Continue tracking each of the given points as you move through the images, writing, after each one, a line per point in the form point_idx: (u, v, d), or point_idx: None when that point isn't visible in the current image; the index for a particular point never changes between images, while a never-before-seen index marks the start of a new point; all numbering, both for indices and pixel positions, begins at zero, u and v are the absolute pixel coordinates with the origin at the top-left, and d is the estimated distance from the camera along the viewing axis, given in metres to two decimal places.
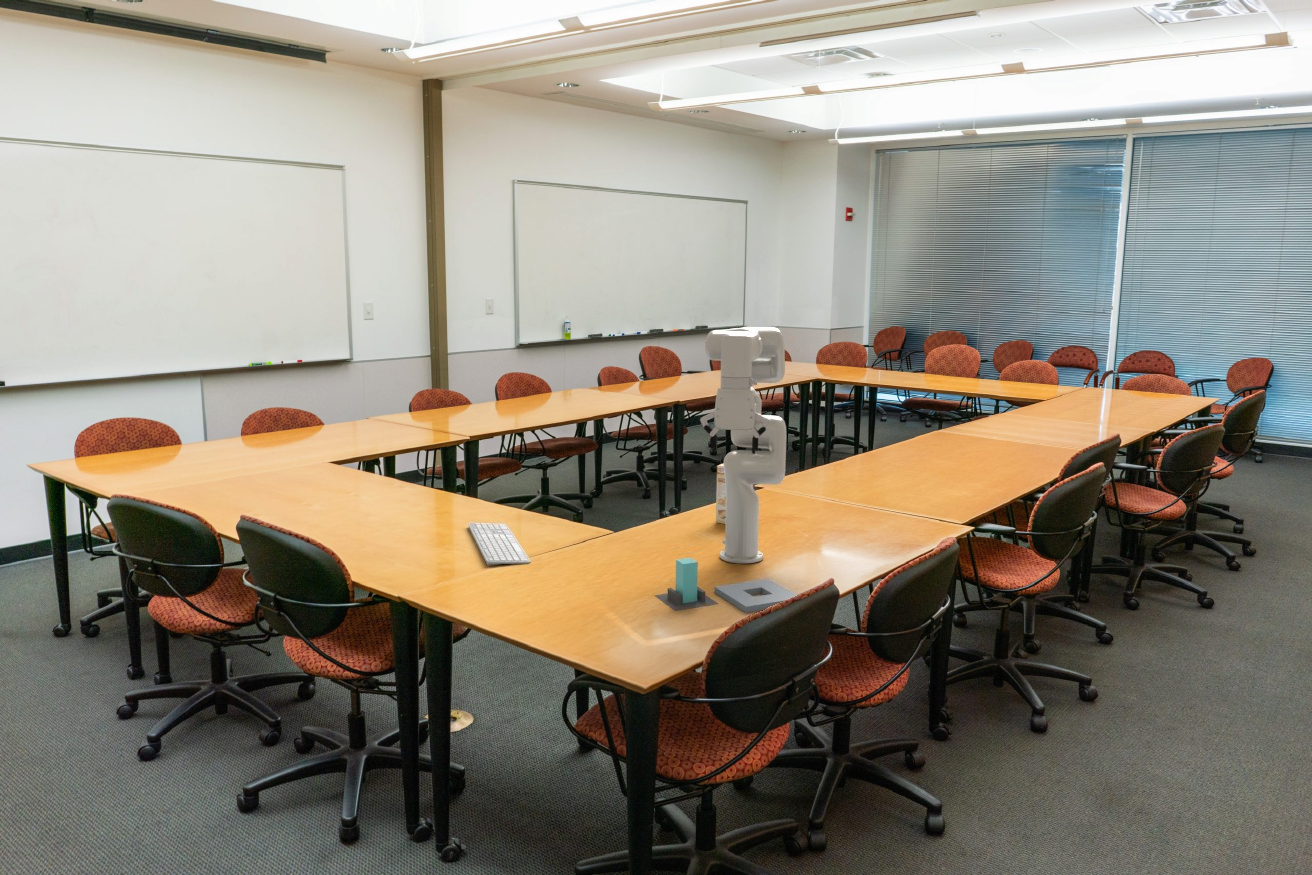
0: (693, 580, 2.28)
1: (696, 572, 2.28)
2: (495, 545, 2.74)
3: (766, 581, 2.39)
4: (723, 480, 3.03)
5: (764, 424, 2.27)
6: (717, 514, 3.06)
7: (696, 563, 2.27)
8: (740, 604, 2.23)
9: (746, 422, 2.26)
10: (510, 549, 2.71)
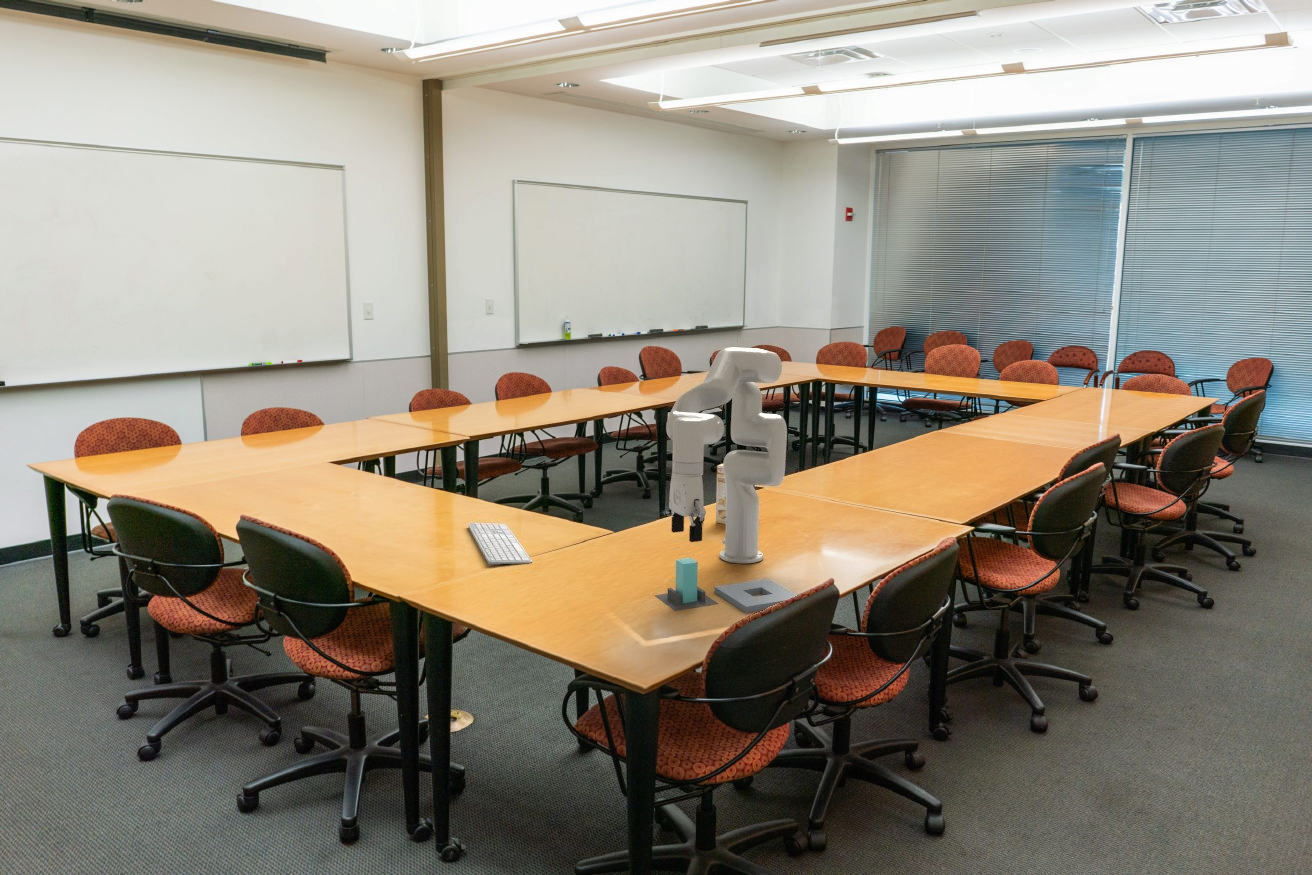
0: (693, 580, 2.28)
1: (696, 572, 2.28)
2: (496, 545, 2.74)
3: (766, 581, 2.39)
4: (723, 480, 3.03)
5: None
6: (717, 514, 3.06)
7: (696, 563, 2.27)
8: (740, 604, 2.23)
9: None
10: (511, 549, 2.72)
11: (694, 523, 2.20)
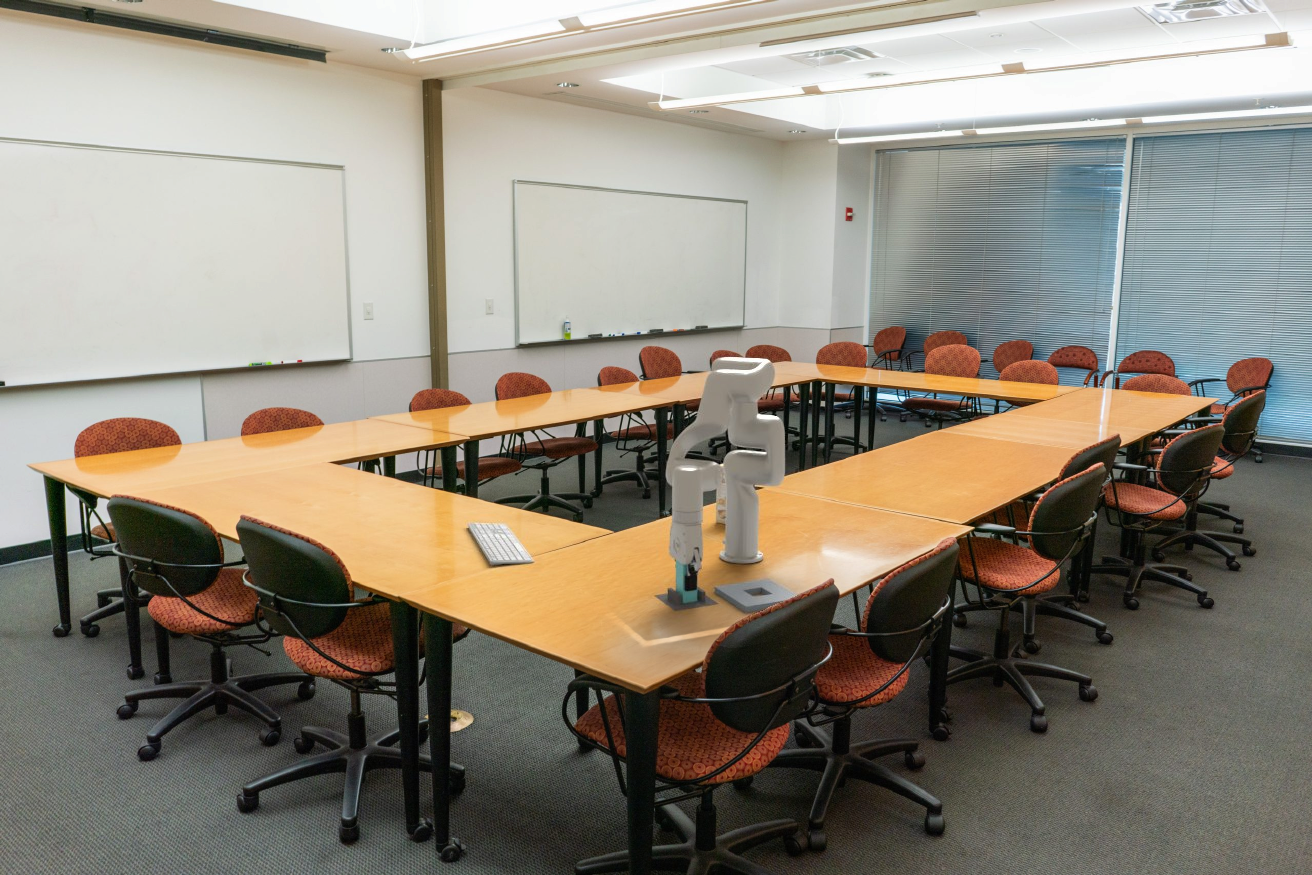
0: None
1: None
2: (497, 545, 2.74)
3: (766, 581, 2.39)
4: (723, 480, 3.03)
5: None
6: (717, 514, 3.06)
7: None
8: (740, 604, 2.23)
9: None
10: (512, 549, 2.72)
11: (689, 574, 2.25)
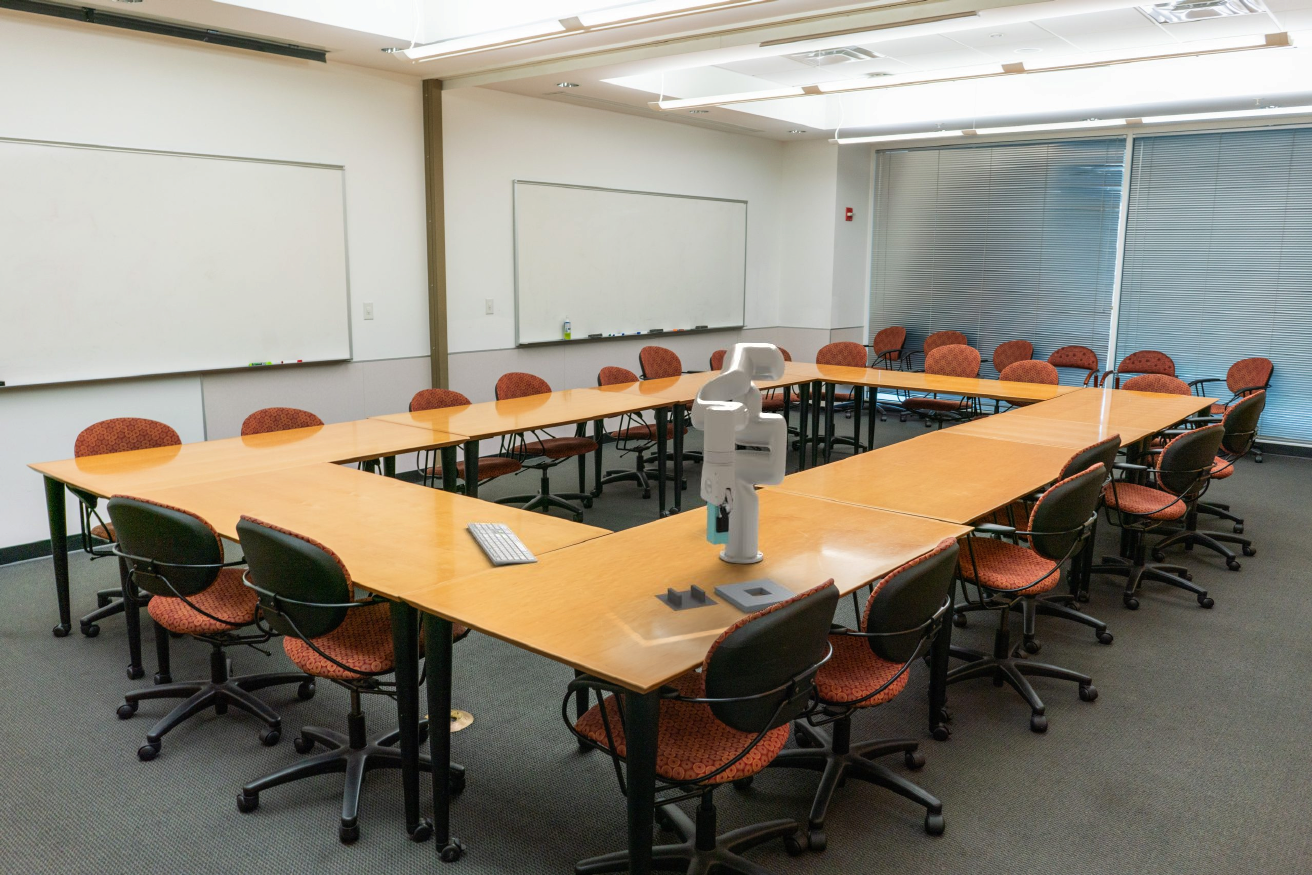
0: None
1: None
2: (499, 545, 2.75)
3: (766, 581, 2.39)
4: None
5: None
6: None
7: None
8: (740, 604, 2.23)
9: None
10: (515, 548, 2.72)
11: (721, 515, 2.23)
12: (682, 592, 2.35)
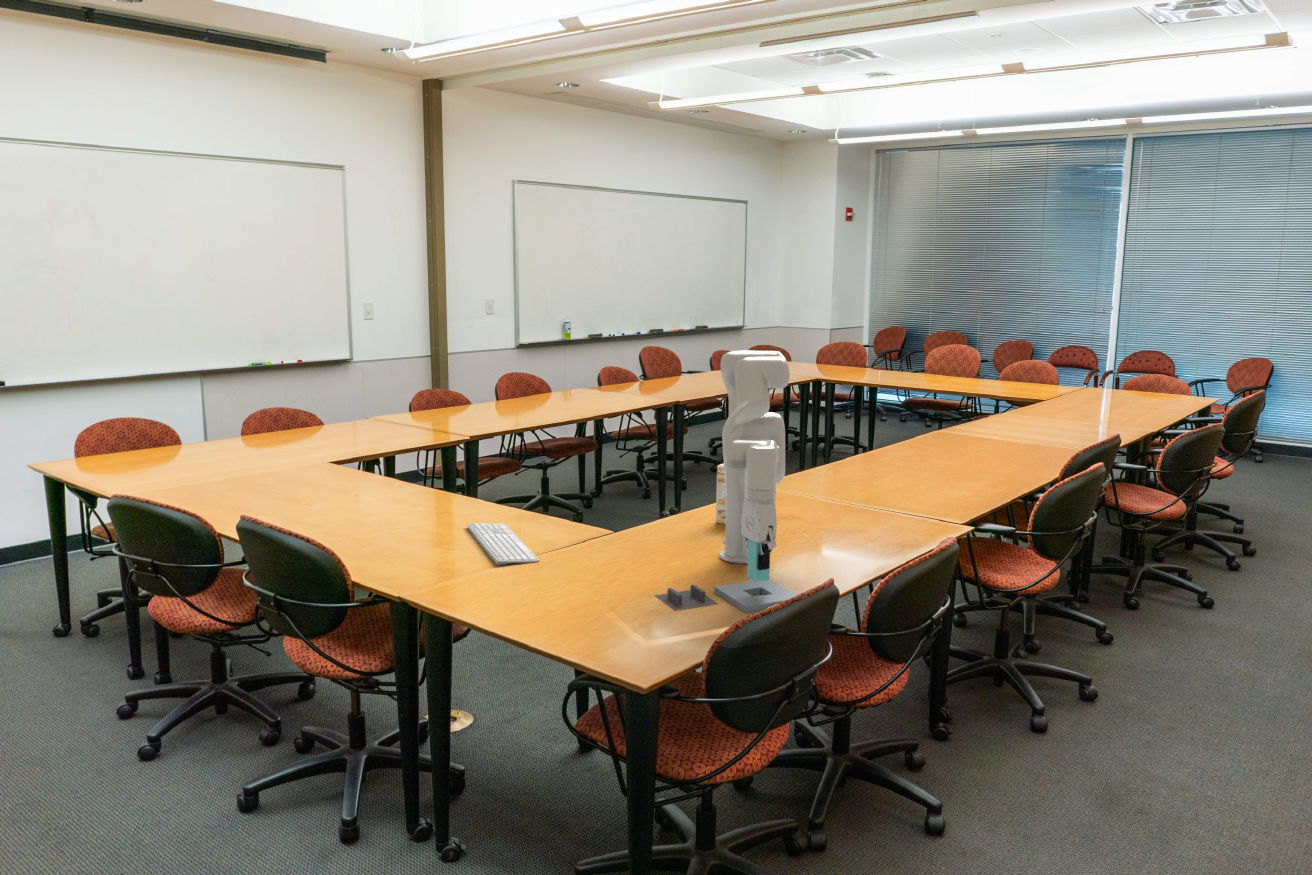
0: None
1: None
2: (500, 545, 2.75)
3: (766, 581, 2.39)
4: (723, 480, 3.03)
5: None
6: (717, 514, 3.06)
7: None
8: (740, 604, 2.23)
9: None
10: (516, 548, 2.72)
11: (763, 553, 2.26)
12: (682, 592, 2.35)
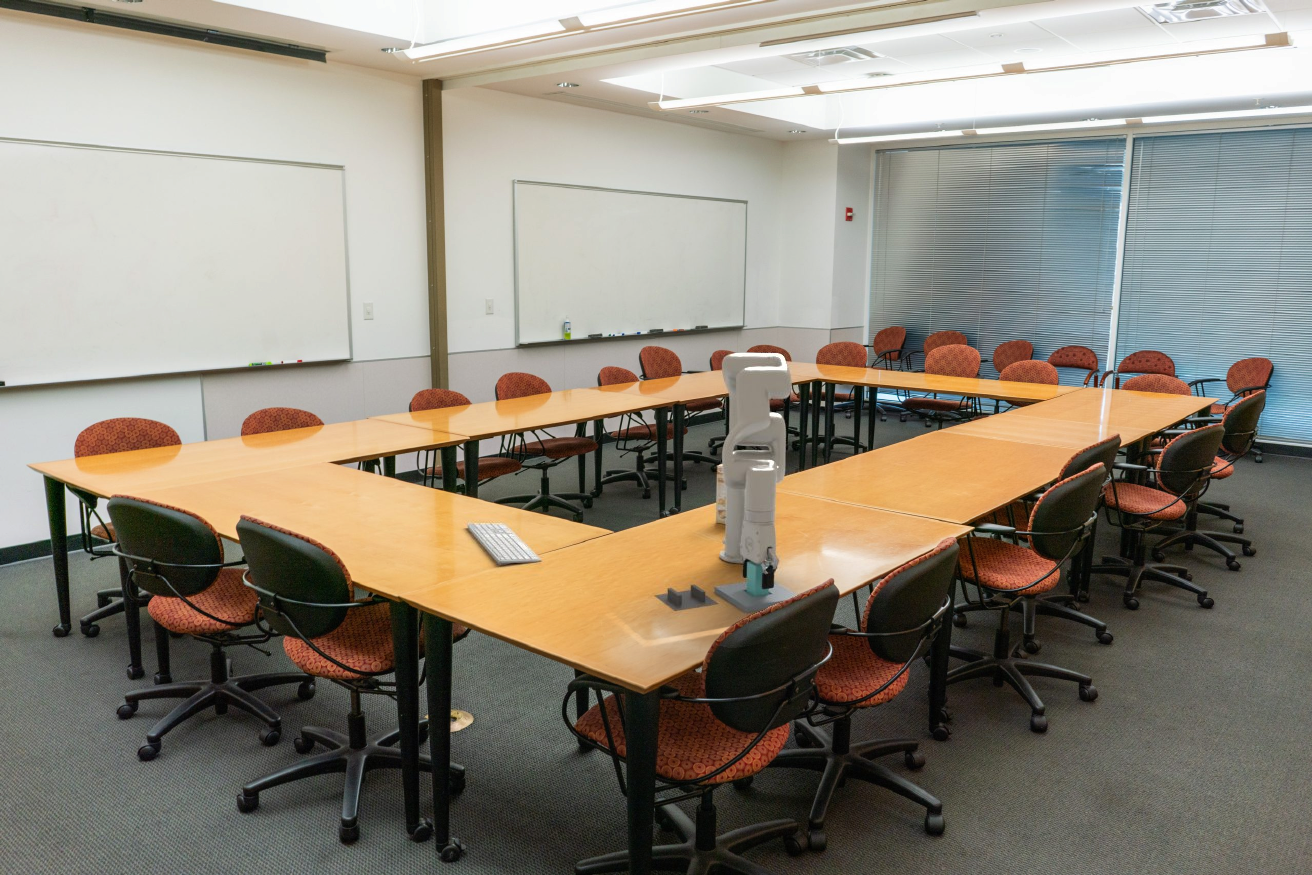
0: None
1: None
2: (501, 545, 2.75)
3: None
4: (723, 480, 3.03)
5: None
6: (717, 514, 3.06)
7: (768, 565, 2.29)
8: (740, 604, 2.23)
9: None
10: (517, 548, 2.73)
11: (767, 571, 2.25)
12: (682, 592, 2.35)
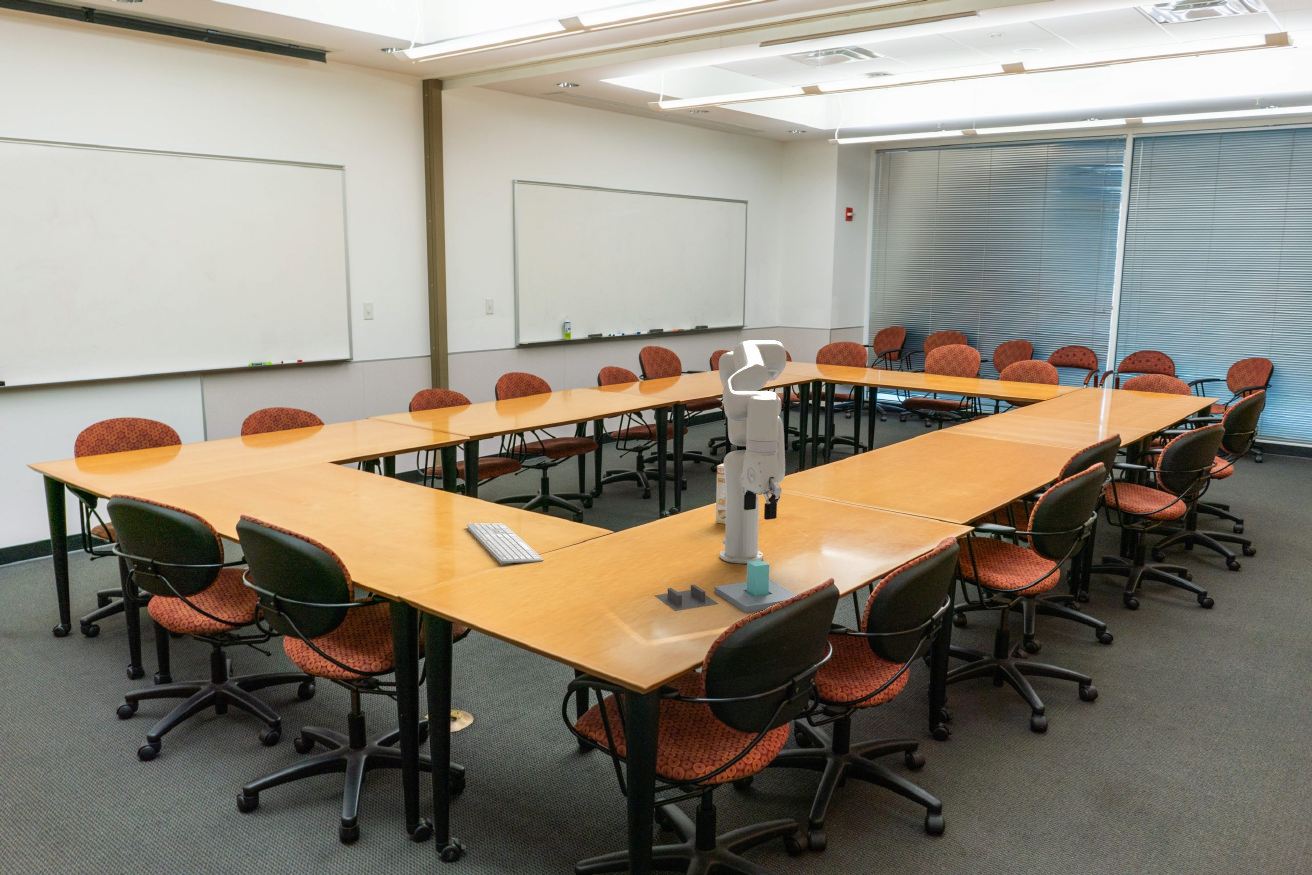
0: (764, 582, 2.30)
1: (768, 574, 2.30)
2: (503, 544, 2.75)
3: None
4: (723, 480, 3.03)
5: None
6: (717, 514, 3.06)
7: (768, 565, 2.29)
8: (740, 604, 2.23)
9: None
10: (519, 548, 2.73)
11: (769, 501, 2.22)
12: (682, 592, 2.35)
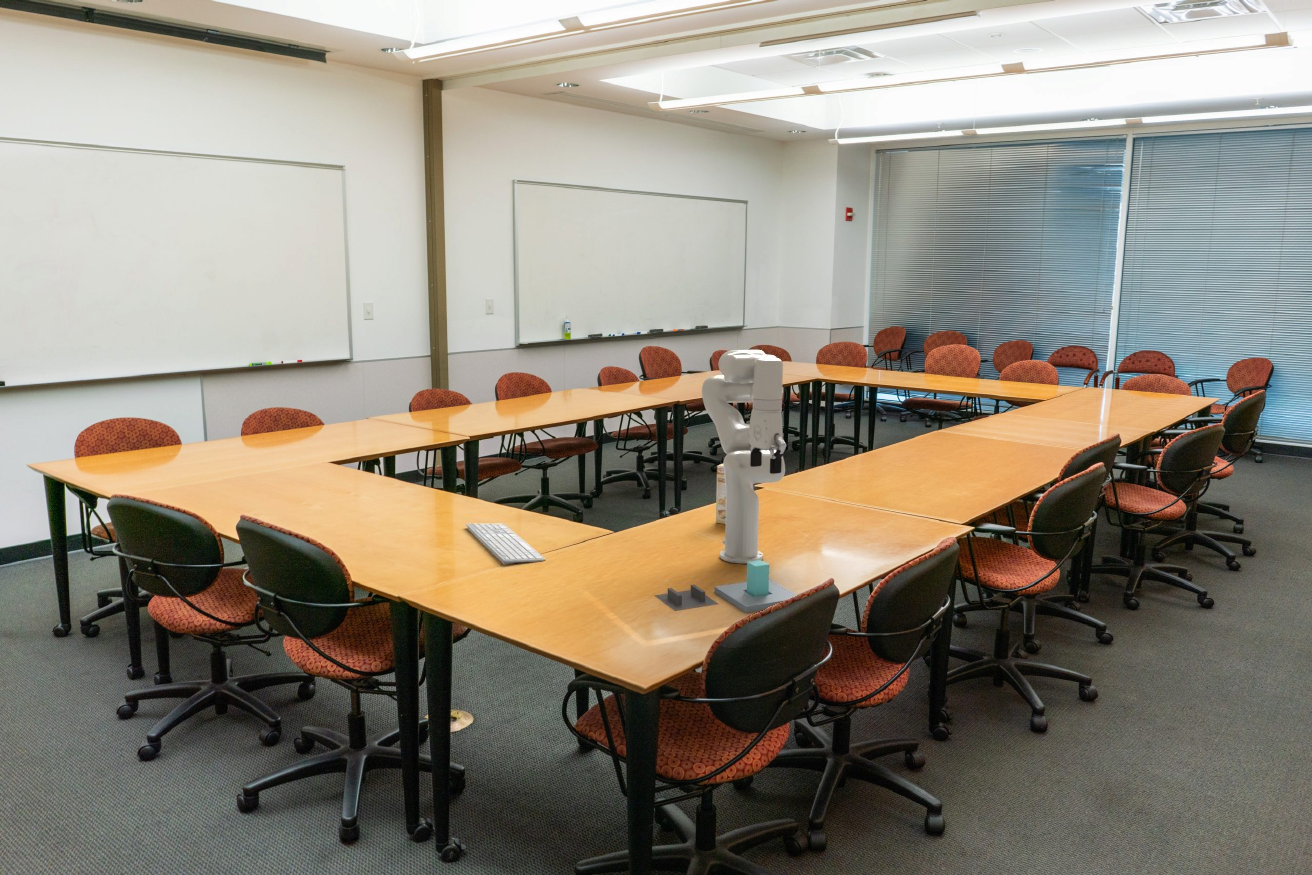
0: (764, 582, 2.30)
1: (768, 574, 2.30)
2: (504, 544, 2.75)
3: None
4: (723, 480, 3.03)
5: None
6: (717, 514, 3.06)
7: (768, 565, 2.29)
8: (740, 604, 2.23)
9: None
10: (520, 548, 2.73)
11: (775, 456, 2.37)
12: (682, 592, 2.35)
